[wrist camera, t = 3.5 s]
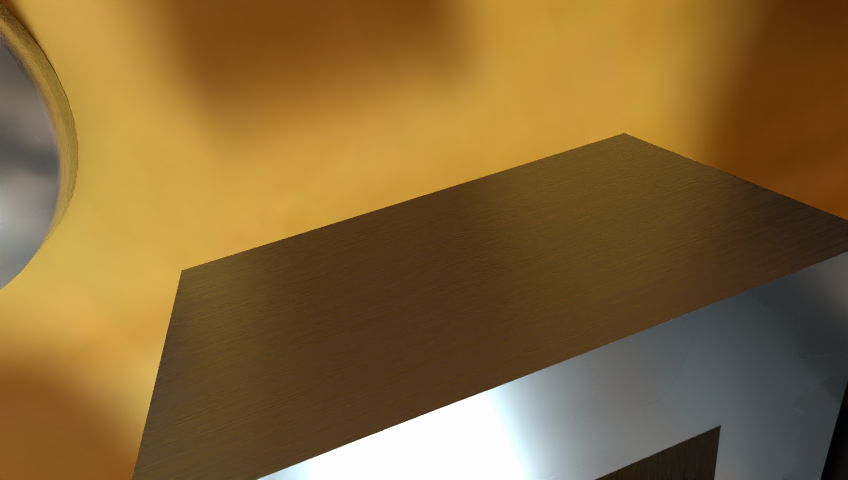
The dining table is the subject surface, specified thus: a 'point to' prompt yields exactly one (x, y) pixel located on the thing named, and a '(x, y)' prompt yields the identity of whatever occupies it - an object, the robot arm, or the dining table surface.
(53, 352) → the dining table surface
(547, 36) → the dining table surface
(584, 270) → the grey knob housing box
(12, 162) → the hub
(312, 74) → the dining table surface
